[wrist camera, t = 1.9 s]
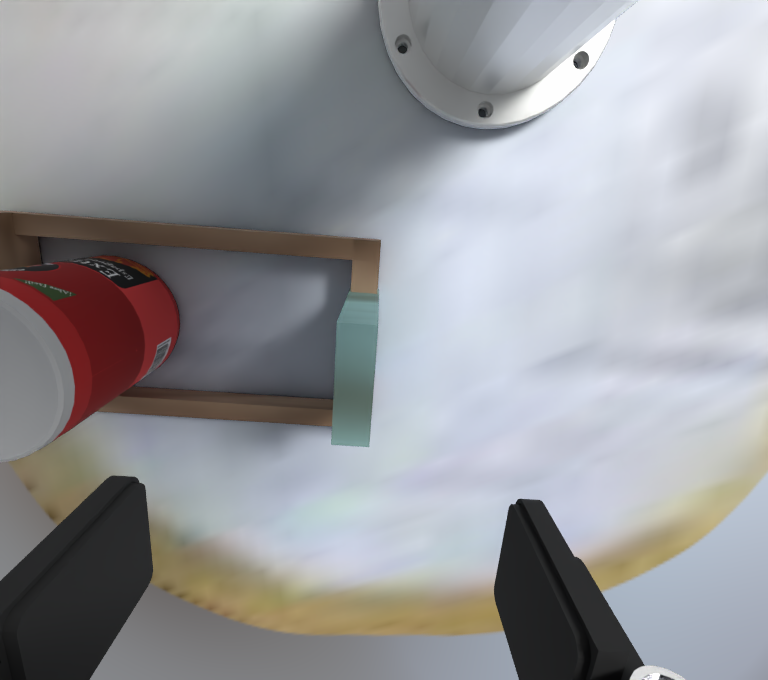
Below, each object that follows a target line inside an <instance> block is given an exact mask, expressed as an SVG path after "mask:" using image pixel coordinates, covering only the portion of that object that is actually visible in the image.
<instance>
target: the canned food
mask: <svg viewBox="0 0 768 680" xmlns="http://www.w3.org/2000/svg"><path fill="white" fill-rule="evenodd" d="M179 328H180V319H179V311H178V308H177V304H176V301H175V299H174V297H173V295H172V293H171V291H170V290H169V288H168V287H167V286H166V284H165V283H164V282H163V281H162V280H161V279H160V278H159V277H158V276H157V275H156V274H155V273H154V272H153V271H151V270H150V269H148V268H147V267H145V266H143V265H141V264H139V263H137V262H135V261H132V260H129V259H125V258H121V257H117V256H106V255H102V256H95V257H88V258H81V259H74V260H67V261H61V262H54V263H47V264H40V265H33V266H26V267H19V268H12V269H5V270H0V463H1V462H8V461H14V460H17V459H20V458H23V457H26V456H28V455H30V454H32V453H33V452H35V451H37V450H40V449H41V448H43V447H45V446H46V445H48V444H49V443H51V442H52V441H54V440H55V439H57V438H58V437H60V436H61V435H63V434H64V433H66V432H67V431H69V430H70V429H72V428H73V427H75V426H76V425H78V424H79V423H80V422H82V421H83V420H85V419H86V418H87V417H89V416H90V415H92V414H93V413H95V412H96V411H97V410H99V409H100V408H102V407H103V406H104V405H106V404H107V403H109V402H110V401H112V400H113V399H114V398H116V397H117V396H119V395H120V394H121V393H123V392H124V391H126V390H127V389H129V388H130V387H131V386H133V385H134V384H136V383H137V382H138V381H140V380H141V379H143V378H144V377H146V376H147V375H148V374H150V373H151V372H153V371H154V370H155V369H157V368H158V367H160V366H161V365H162V364H163V363H164V362H165V361H166V360H167V359H168V357H169V355H170V354H171V352H172V350H173V348H174V346H175V344H176V341H177V338H178V335H179Z"/></svg>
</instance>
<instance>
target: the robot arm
mask: <svg viewBox="0 0 768 680" xmlns="http://www.w3.org/2000/svg"><path fill="white" fill-rule="evenodd" d="M637 1H638V0H378V9H379V19H380V28H381V31H382V35H383V39H384V43H385V46H386V50H387V53H388V55H389V57H390V59H391V62H392V64H393V66H394V68H395V70H396V72H397V74H398V76H399V77H400V78H401V80H402V81H403V83H404V84H405V86H406V87H407V88H408V90H409V91H410V93H411V94H412V95H413V96H415V97H416V98H417V99H418V100H419V101H420V102H421V103H422V104H423V105H424V106H425V107H426V108H427V109H429V110H431V111H432V112H434V113H435V114H437V115H438V116H440V117H442V118H443V119H445V120H448V121H450V122H453V123H456V124H459V125H461V126H464V127H471V128H478V129H498V128H507V127H511V126H514V125H518V124H521V123H525V122H527V121H529V120H531V119H533V118H535V117H537V116H539V115H541V114H543V113H545V112H547V111H548V110H550V109H551V108H553V107H554V106H556V105H557V104H559V103H560V102H562V101H563V100H564V99H565V98H566V97H567V96H568V95H569V94H571V93H572V92H573V91H574V90H575V89H576V88H577V87H578V86H579V85H580V84H581V83H582V82H583V80H584V79H585V78H586V77H587V76H588V74H589V73H590V72H591V71H592V69H593V68H594V66H595V65H596V63H597V61H598V59H599V58H600V56H601V54H602V52H603V50H604V48H605V47H606V45H607V43H608V41H609V38H610V35H611V33H612V30H613V27H614V25H615V22H616V19H617V18H618V17H619V16H620V15H621V14H623V13H624V12H625V11H626V10H628V9H629V8H630V7H631V6H632V5H634V4H635V3H636V2H637ZM402 45H403V46H405V47H406V48H407V52H406V53H404V54H402V53H400V52H399V51H398V48H399V47H400V46H402ZM573 61H576V62H577V64H578V68H577V69H576V68H575V66H574V65H573ZM479 109H484V110H485V112H486V116H485V117H483V118H482V117H480V116H479V115H478V111H479ZM152 573H153V564H152V553H151V543H150V532H149V522H148V511H147V501H146V490H145V486H144V484H142V483H139V480H138V478H136V477H128V476H110V477H109V478H107V479H106V480H105V481H104V482H103V483H102V484H101V485H100V486H99V487H98V488H97V489H96V490H95V491H94V492H93V493H92V494H91V495H90V496H88V497H87V498H86V499H85V500H84V501H83V502H82V503H81V504H80V505H79V506H78V507H77V508H76V509H75V510H74V511H73V512H72V513H71V514H70V515H69V516H68V517H67V518H66V519H65V520H63V521H62V522H61V523H60V524H59V525H58V526H57V527H56V528H55V529H54V530H53V531H52V532H51V533H50V534H49V535H48V536H47V537H46V538H45V539H44V540H43V541H42V542H41V543H40V544H38V545H37V547H35V548H34V549H33V550H32V551H31V552H30V553H29V554H28V555H27V556H26V557H25V558H24V559H23V560H22V561H21V562H20V563H19V564H18V565H17V566H16V567H15V568H14V569H13V570H11V571H10V572H9V573H8V574H7V575H6V576H5V577H4V578H3V579H2V580H1V581H0V680H89V679H90V678H91V676H92V675H93V673H94V671H95V670H96V668H97V667H98V665H99V663H100V662H101V660H102V659H103V657H104V655H105V654H106V652H107V651H108V649H109V647H110V646H111V644H112V643H113V641H114V639H115V638H116V636H117V635H118V633H119V632H120V630H121V628H122V627H123V625H124V624H125V622H126V620H127V619H128V617H129V616H130V614H131V612H132V611H133V609H134V608H135V606H136V604H137V603H138V601H139V600H140V598H141V596H142V595H143V593H144V591H145V590H146V588H147V587H148V585H149V583H150V581H151V578H152ZM494 596H495V602H496V605H497V609H498V612H499V615H500V618H501V622H502V625H503V628H504V632H505V635H506V638H507V641H508V645H509V648H510V651H511V654H512V658H513V661H514V664H515V667H516V671H517V674H518V677H519V680H686V679H684V678H683V677H681V676H680V675H678V674H676V673H673V672H671V671H669V670H667V669H665V668H661V667H656V666H645V665H644V664H643V662H642V660H641V659H640V657H639V655H638V653H637V652H636V650H635V649H634V647H633V645H632V643H631V642H630V640H629V638H628V637H627V635H626V633H625V632H624V630H623V628H622V627H621V625H620V623H619V622H618V620H617V618H616V617H615V615H614V613H613V612H612V610H611V608H610V607H609V605H608V603H607V601H606V600H605V598H604V597H603V595H602V593H601V591H600V590H599V588H598V586H597V585H596V583H595V581H594V580H593V578H592V576H591V574H590V573H589V571H588V569H587V568H586V566H585V565H584V563H583V562H582V561H581V560H580V559H579V558H577V557H574V555H573V554H572V552H571V550H570V548H569V547H568V545H567V543H566V542H565V540H564V538H563V536H562V535H561V533H560V531H559V529H558V528H557V526H556V524H555V522H554V521H553V519H552V517H551V516H550V514H549V512H548V510H547V509H546V507H545V505H544V504H543V502H542V501H540V500H530V499H518V500H517V502H516V504H511V505H510V506H509V510H508V515H507V521H506V526H505V532H504V537H503V542H502V548H501V553H500V558H499V564H498V569H497V575H496V580H495V586H494Z"/></svg>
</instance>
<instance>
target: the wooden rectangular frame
mask: <svg viewBox="0 0 768 680" xmlns="http://www.w3.org/2000/svg"><path fill="white" fill-rule="evenodd" d="M38 236H41V237H55V238H68V239H81V240H94V241H108V242H121V243H134V244H147V245H160V246H174V247H187V248H200V249H213V250H226V251H240V252H253V253H266V254H279V255H292V256H306V257H319V258H332V259H345V260H352V275H351V288H350V290H349V293H348V295H347V298H346V300H345V303H344V305H343V308H342V310H341V313H340V315H339V318H338V320H337V327H336V349H335V371H334V394H333V399H317V398H302V397H287V396H272V395H256V394H241V393H226V392H211V391H196V390H180V389H165V388H150V387H135V386H131V387H130V388H129V389H127V390H126V391H124V392H123V393H121V394H120V395H119V396H117V397H116V398H114V399H113V400H112V401H110V402H109V403H107V404H106V405H104V406H103V407H102V408H100V409H99V410H97V411H98V412H114V413H129V414H145V415H161V416H176V417H192V418H208V419H223V420H239V421H255V422H270V423H286V424H301V425H317V426H332V439H331V445H345V446H361V447H369V442H370V428H371V415H372V401H373V388H374V374H375V361H376V347H377V334H378V307H379V289H377V288H378V274H379V261H380V247H381V240H379V239H366V238H353V237H340V236H327V235H315V234H302V233H289V232H276V231H263V230H250V229H237V228H224V227H211V226H198V225H185V224H172V223H159V222H146V221H133V220H121V219H108V218H95V217H82V216H69V215H56V214H43V213H30V212H17V211H0V270H5V269H12V268H19V267H26V266H33V265H40V264H42V262H41V255H40V249H39V242H38Z"/></svg>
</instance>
